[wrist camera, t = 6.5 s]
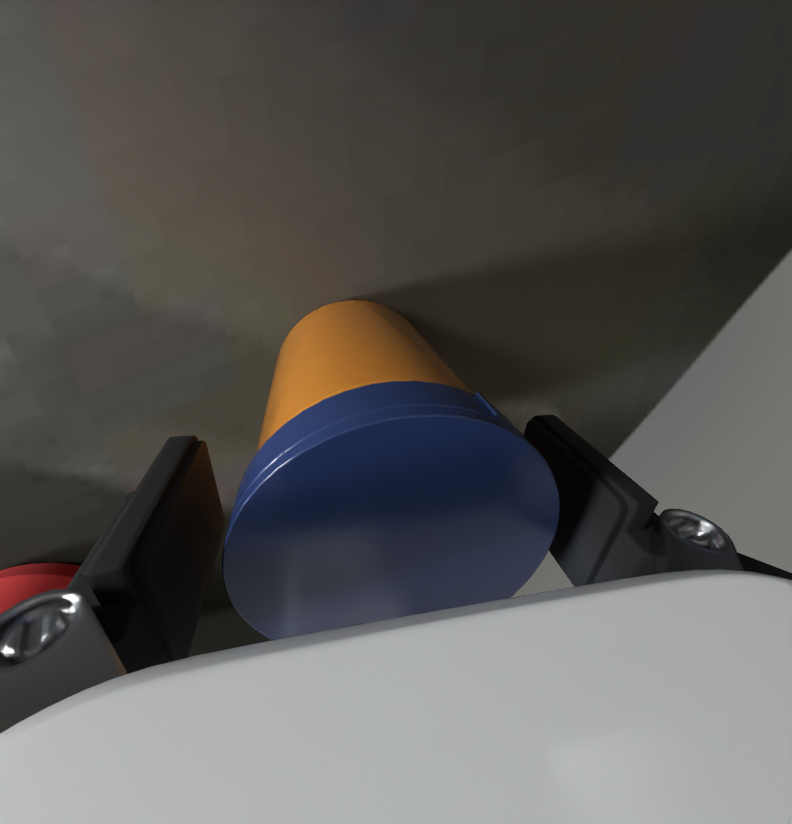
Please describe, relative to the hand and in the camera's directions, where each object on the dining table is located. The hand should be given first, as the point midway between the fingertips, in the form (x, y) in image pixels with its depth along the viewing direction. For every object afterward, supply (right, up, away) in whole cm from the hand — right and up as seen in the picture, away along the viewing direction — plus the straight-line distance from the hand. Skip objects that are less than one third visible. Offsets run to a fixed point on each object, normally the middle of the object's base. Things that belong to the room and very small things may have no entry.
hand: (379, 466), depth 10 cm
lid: (+1, -1, -3) cm, 3 cm away
